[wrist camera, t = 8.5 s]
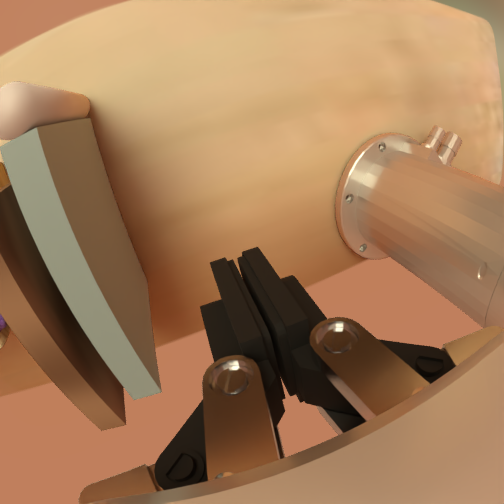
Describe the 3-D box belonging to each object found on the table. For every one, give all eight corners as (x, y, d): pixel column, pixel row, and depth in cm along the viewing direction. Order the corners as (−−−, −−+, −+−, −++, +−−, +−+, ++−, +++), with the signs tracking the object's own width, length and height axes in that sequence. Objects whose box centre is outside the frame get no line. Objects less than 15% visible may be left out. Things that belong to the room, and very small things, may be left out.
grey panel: (86, 89, 16) (29, 71, 7) (149, 280, 23) (165, 390, 14) (59, 100, 15) (-18, 98, 6) (126, 288, 23) (130, 400, 14)
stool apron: (40, 162, 17) (-48, 225, 7) (59, 153, 17) (-21, 207, 7) (105, 306, 23) (101, 430, 13) (122, 300, 24) (126, 424, 13)
